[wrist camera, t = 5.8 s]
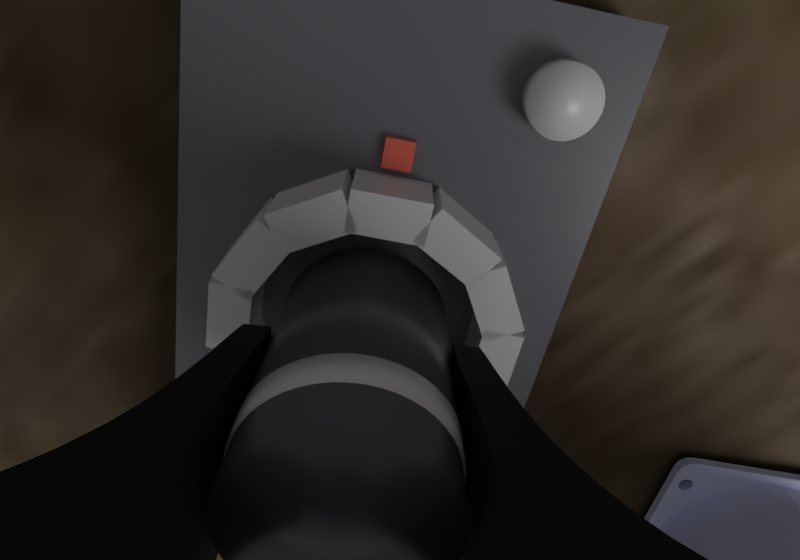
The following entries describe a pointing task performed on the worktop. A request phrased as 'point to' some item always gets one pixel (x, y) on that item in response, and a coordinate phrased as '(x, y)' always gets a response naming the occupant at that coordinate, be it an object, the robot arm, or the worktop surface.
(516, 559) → the robot arm
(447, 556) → the lens
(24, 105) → the worktop surface
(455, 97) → the camera body
